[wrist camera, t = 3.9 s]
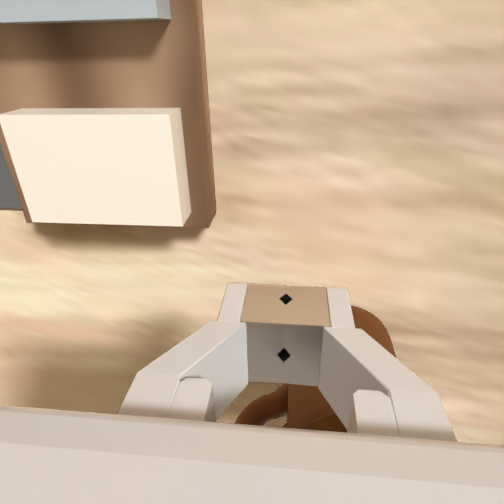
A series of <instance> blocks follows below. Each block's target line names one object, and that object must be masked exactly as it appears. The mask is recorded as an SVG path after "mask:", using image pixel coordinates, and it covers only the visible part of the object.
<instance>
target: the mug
mask: <svg viewBox="0 0 504 504" xmlns="http://www.w3.org/2000/svg"><path fill="white" fill-rule="evenodd" d="M351 309H352V314H353V319H354V324H355V328H357V329H362V330H363V331H365V332H366V333H367V334H368V335H369V336H371V337H372V338H373V339H374V340H375V341H376V342H378V343H379V344H380V345H381V346H382V347H384V348H385V349H386V350H387V351H388V352H389V353H391V354H392V355H393V356H394V357H395V358H396V355H395V352H394V349H393V345H392V342H391V339H390V336H389V334H388V332H387V330H386V328H385V327H384V325H383V324H382V322H381V321H380V320H379V319H378V318H377V317H375V316H374V315H373V314H371V313H369V312H368V311H366V310H363V309H361V308H358V307H355V306H351ZM286 414H288V415H287V422H288V423H287V424H286V425H284V426H283V427H282V428H295V429H307V430H320V431H332V432H344V433H347V429H346V428H345V426H344V425H343V423H342V422H341V420H340V419H339V417H338V416H337V415H336V413H335V412H334V410H333V409H332V407H331V406H330V404H329V403H328V402H327V400H326V399H325V397H324V396H323V394H322V393H321V391H320V390H319V389H318V386H307V385H297V384H287V383H285V384H283V385H282V386H281V387H279V388H278V389H277V390H276V391H275V392H273V393H271V394H268V395H265V396H262V397H260V398H258V399H256V400H255V401H253V402H252V403H251V404H249V405H248V406H247V407H246V408H245V409H244V410H243V411H242V413H241V414H240V415H239V417H238V419H237V420H236V422H235V424H245V425H257V426H262V425H263V424H264V423H266V422H267V421H269V420H272V419H276V418H279V417H282V416H284V415H286Z"/></svg>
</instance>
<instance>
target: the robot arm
mask: <svg viewBox="0 0 504 504" xmlns="http://www.w3.org/2000/svg"><path fill="white" fill-rule="evenodd" d="M248 382H268V383H287V384H297V385H307V386H318V389H319V390H320V391H321V393H322V394H323V396H324V397H325V399H326V400H327V402H328V403H329V404H330V406H331V407H332V409H333V410H334V412H335V413H336V415H337V416H338V417H339V419H340V420H341V422H342V423H343V425H344V426H345V428H346V429H347V433H344V432H332V431H320V430H307V429H295V428H282V427H270V426H257V425H245V424H232V423H220V422H216V421H217V420H218V418H219V417H220V416H221V415H222V414H223V413H224V411H225V410H226V409H227V408H228V407H229V406H230V404H231V403H232V402H233V401H234V400H235V399H236V397H237V396H238V395H239V394H240V393H241V392H242V390H243V389H244V388H245V387H246V386H247V385H248ZM0 504H504V446H501V445H488V444H476V443H464V442H457V440H456V438H455V435H454V432H453V430H452V427H451V425H450V422H449V420H448V417H447V415H446V412H445V409H444V407H443V404H442V402H441V399H440V397H439V394H438V393H437V392H436V391H434V390H433V389H432V388H431V387H430V386H429V385H427V384H426V383H425V382H424V381H423V380H421V379H420V378H419V377H418V376H417V375H416V374H414V373H413V372H412V371H411V370H410V369H408V368H407V367H406V366H405V365H404V364H402V363H401V362H400V361H399V360H398V359H397V358H395V357H394V356H393V355H392V354H391V353H389V352H388V351H387V350H386V349H385V348H384V347H382V346H381V345H380V344H379V343H378V342H376V341H375V340H374V339H373V338H372V337H371V336H369V335H368V334H367V333H366V332H365V331H363V330H362V329H357V328H355V324H354V319H353V314H352V309H351V304H350V299H349V294H348V289H347V288H346V287H304V286H287V285H271V284H255V283H249V284H248V283H237V282H229V283H228V284H227V287H226V291H225V294H224V297H223V301H222V304H221V308H220V311H219V315H218V318H217V321H210V322H208V323H207V324H206V325H204V326H203V327H201V328H200V329H198V330H197V331H196V332H194V333H193V334H191V335H190V336H188V337H187V338H186V339H184V340H183V341H181V342H180V343H178V344H177V345H176V346H174V347H173V348H171V349H170V350H168V351H167V352H166V353H164V354H163V355H161V356H160V357H158V358H157V359H156V360H154V361H153V362H151V363H150V364H148V365H147V366H146V367H144V368H143V369H141V370H140V371H139V372H137V374H136V376H135V378H134V380H133V382H132V384H131V387H130V389H129V391H128V393H127V395H126V397H125V399H124V401H123V403H122V405H121V407H120V409H119V411H118V413H117V414H109V413H96V412H84V411H72V410H59V409H47V408H35V407H23V406H10V405H0Z"/></svg>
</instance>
